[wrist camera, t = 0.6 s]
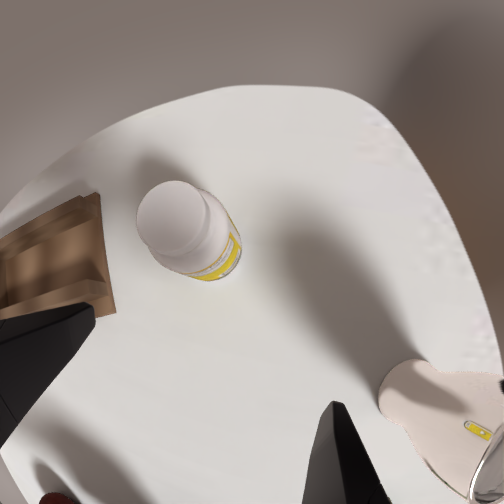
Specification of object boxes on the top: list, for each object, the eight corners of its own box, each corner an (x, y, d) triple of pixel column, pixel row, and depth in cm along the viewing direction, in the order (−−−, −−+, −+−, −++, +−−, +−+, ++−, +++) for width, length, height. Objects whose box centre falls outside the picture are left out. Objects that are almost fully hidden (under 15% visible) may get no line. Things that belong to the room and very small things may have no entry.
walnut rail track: (13, 338, 24) (-9, 338, 21) (4, 244, 27) (-16, 237, 23) (116, 312, 24) (93, 312, 20) (99, 195, 26) (79, 180, 23)
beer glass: (357, 408, 21) (438, 506, 6) (402, 339, 21) (530, 363, 7) (410, 436, 19) (500, 515, 5) (451, 373, 20) (569, 406, 6)
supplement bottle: (179, 222, 25) (127, 176, 15) (240, 215, 25) (218, 159, 15) (181, 284, 24) (123, 269, 14) (245, 279, 24) (223, 259, 14)
